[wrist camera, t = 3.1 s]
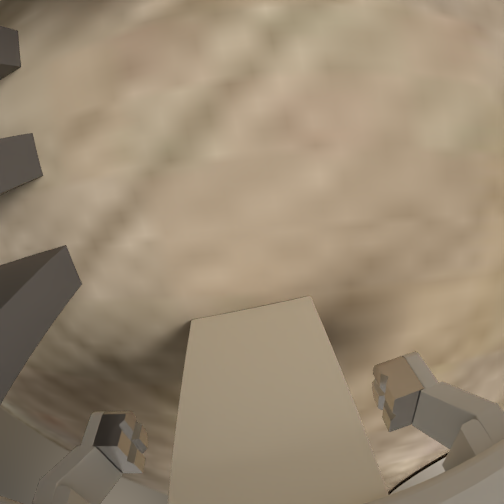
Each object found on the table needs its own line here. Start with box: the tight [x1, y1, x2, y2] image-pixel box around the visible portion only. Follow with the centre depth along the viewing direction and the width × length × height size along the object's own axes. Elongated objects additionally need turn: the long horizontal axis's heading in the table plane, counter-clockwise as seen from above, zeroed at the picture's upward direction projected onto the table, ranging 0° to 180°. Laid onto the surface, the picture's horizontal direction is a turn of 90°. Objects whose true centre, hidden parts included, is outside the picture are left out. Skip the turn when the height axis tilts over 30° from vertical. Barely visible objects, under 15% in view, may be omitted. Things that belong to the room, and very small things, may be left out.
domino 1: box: [168, 296, 389, 504], centre depth 9 cm, size 2×5×10 cm, turn 101°
